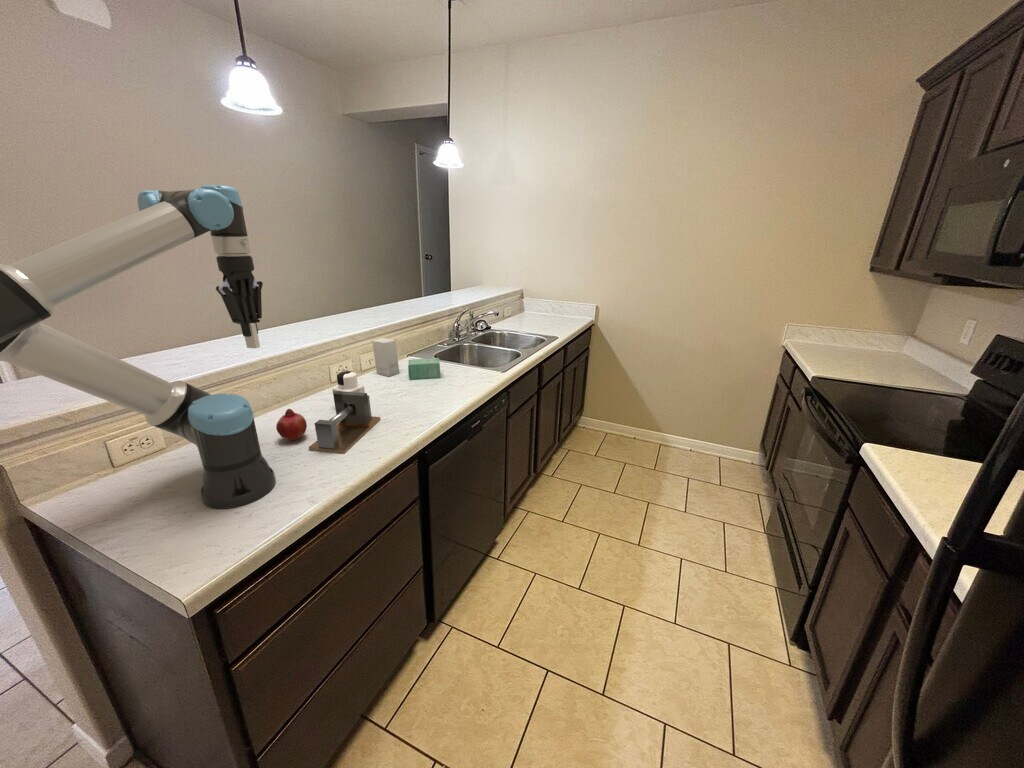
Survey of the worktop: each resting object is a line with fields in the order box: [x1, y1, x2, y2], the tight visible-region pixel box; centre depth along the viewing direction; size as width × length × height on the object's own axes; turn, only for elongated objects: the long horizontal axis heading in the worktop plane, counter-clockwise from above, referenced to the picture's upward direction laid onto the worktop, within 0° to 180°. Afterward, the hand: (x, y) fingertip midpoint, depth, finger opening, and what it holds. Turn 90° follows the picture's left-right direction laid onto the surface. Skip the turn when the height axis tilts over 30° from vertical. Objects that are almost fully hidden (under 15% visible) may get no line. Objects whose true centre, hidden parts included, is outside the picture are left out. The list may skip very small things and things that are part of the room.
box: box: [407, 357, 442, 381], centre depth 179 cm, size 7×14×8 cm, turn 103°
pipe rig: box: [308, 394, 381, 455], centre depth 127 cm, size 23×11×9 cm, turn 171°
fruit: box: [275, 408, 308, 441], centre depth 124 cm, size 8×8×10 cm
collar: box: [332, 391, 370, 425], centre depth 131 cm, size 2×10×10 cm, turn 81°
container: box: [332, 370, 366, 404], centre depth 147 cm, size 8×8×13 cm
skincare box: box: [371, 337, 400, 378], centre depth 181 cm, size 8×7×16 cm
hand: (253, 347), depth 110 cm, fingers closed
